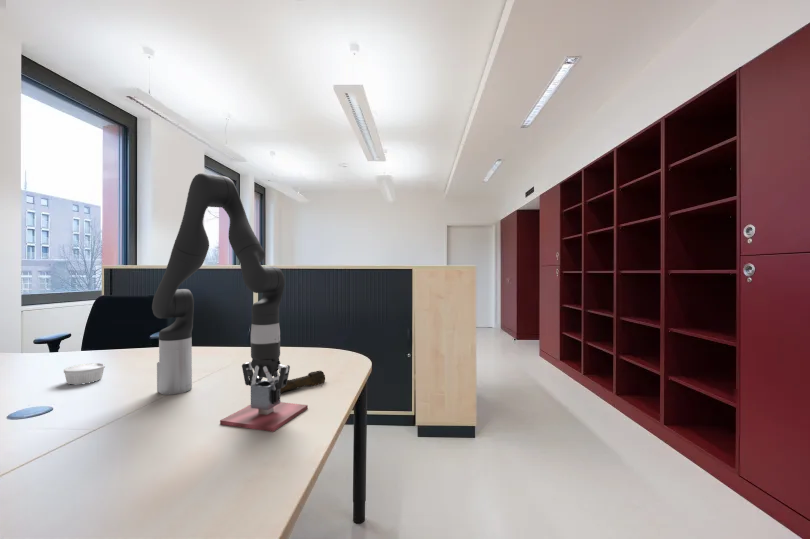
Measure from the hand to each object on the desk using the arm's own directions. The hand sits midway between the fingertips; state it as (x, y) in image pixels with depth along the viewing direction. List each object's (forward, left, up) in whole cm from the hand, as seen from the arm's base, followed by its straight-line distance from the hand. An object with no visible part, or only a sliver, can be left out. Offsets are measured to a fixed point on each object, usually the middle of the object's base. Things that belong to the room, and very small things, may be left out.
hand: (265, 401), depth 105 cm
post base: (0, 0, -4) cm, 4 cm away
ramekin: (-82, +9, -4) cm, 83 cm away
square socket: (0, 0, -1) cm, 1 cm away
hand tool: (-5, +24, -4) cm, 25 cm away
